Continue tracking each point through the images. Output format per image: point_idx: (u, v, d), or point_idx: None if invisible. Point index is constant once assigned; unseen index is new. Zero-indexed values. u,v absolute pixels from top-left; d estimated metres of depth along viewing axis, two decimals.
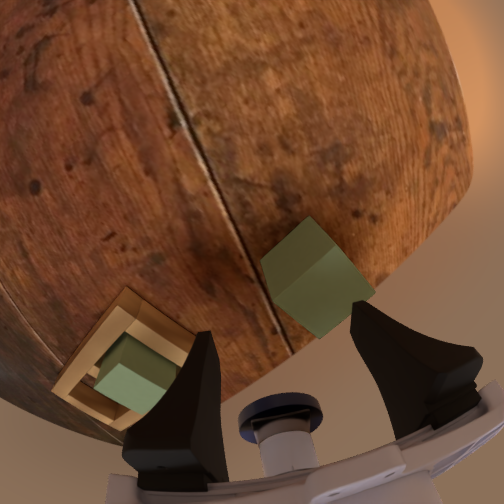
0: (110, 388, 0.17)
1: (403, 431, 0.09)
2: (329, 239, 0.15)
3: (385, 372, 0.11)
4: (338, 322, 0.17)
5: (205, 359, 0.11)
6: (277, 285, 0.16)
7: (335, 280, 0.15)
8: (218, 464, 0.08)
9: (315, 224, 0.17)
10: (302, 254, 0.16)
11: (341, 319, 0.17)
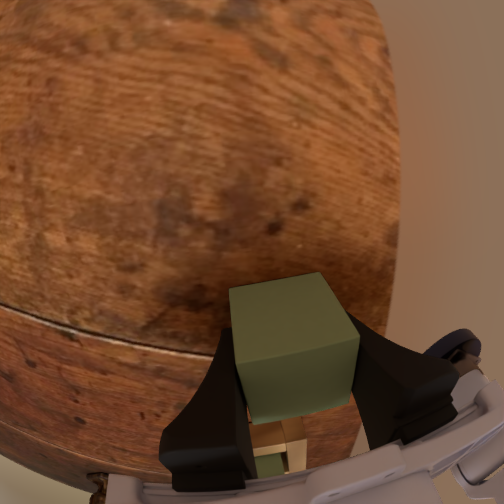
0: None
1: (376, 442, 0.09)
2: (234, 348, 0.10)
3: (358, 381, 0.10)
4: (349, 384, 0.11)
5: None
6: None
7: (286, 378, 0.10)
8: (251, 460, 0.08)
9: (230, 310, 0.12)
10: None
11: (349, 381, 0.11)
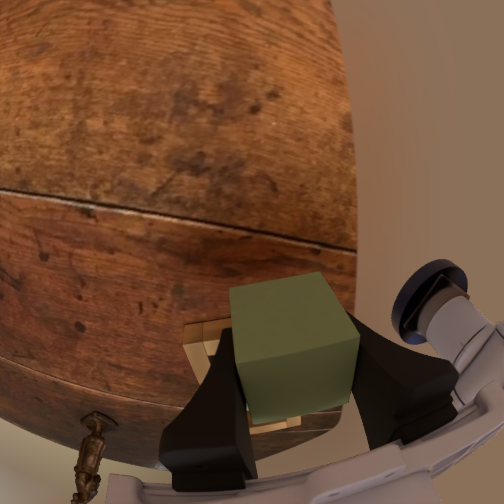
0: None
1: (376, 442, 0.09)
2: (234, 347, 0.10)
3: (358, 381, 0.10)
4: (349, 384, 0.11)
5: None
6: None
7: (286, 377, 0.10)
8: (251, 460, 0.08)
9: (230, 309, 0.12)
10: None
11: (349, 381, 0.11)
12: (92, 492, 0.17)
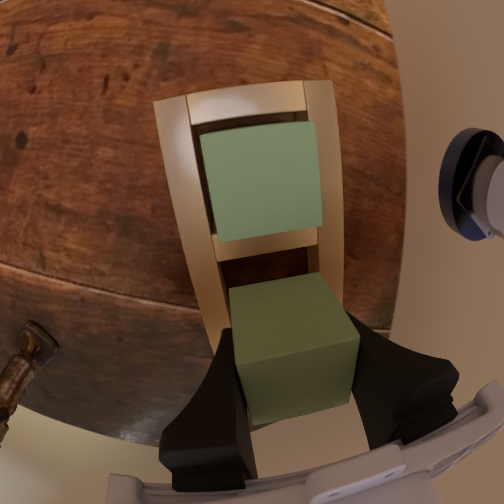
0: (237, 210, 0.12)
1: (376, 442, 0.09)
2: (234, 348, 0.10)
3: (358, 381, 0.10)
4: (349, 384, 0.11)
5: None
6: None
7: (286, 378, 0.10)
8: (251, 460, 0.08)
9: (230, 310, 0.12)
10: None
11: (349, 381, 0.11)
12: None
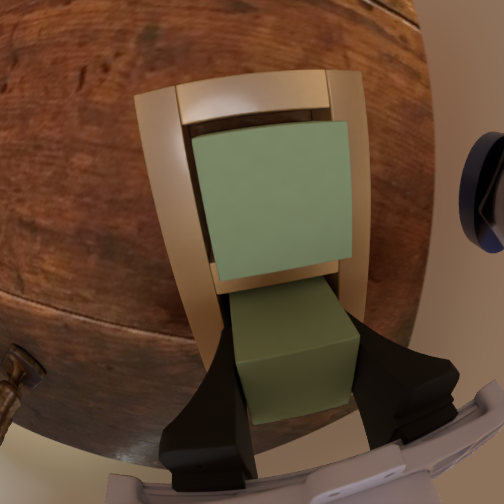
0: (244, 240, 0.09)
1: (376, 442, 0.09)
2: (234, 348, 0.10)
3: (359, 381, 0.10)
4: (349, 384, 0.11)
5: None
6: None
7: (286, 378, 0.10)
8: (251, 460, 0.08)
9: (230, 309, 0.12)
10: None
11: (349, 381, 0.11)
12: None
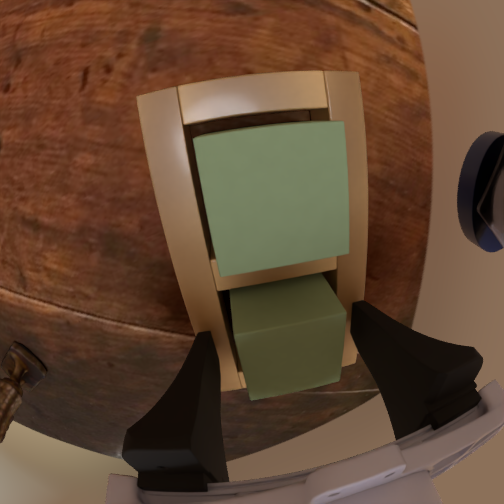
0: (244, 236, 0.09)
1: (403, 431, 0.09)
2: None
3: (385, 372, 0.11)
4: (339, 361, 0.12)
5: (205, 359, 0.11)
6: None
7: (280, 351, 0.11)
8: (218, 464, 0.08)
9: None
10: None
11: (338, 357, 0.12)
12: None
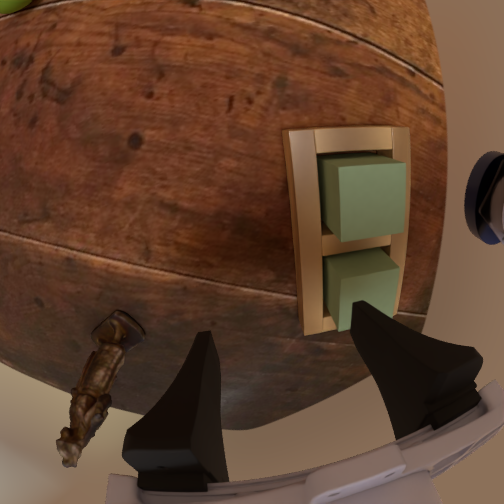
0: (356, 220, 0.16)
1: (403, 431, 0.09)
2: (336, 274, 0.19)
3: (385, 372, 0.11)
4: (393, 302, 0.19)
5: (205, 359, 0.11)
6: (335, 318, 0.20)
7: (363, 291, 0.18)
8: (218, 464, 0.08)
9: (326, 258, 0.21)
10: (332, 289, 0.20)
11: (393, 299, 0.19)
12: (94, 418, 0.13)
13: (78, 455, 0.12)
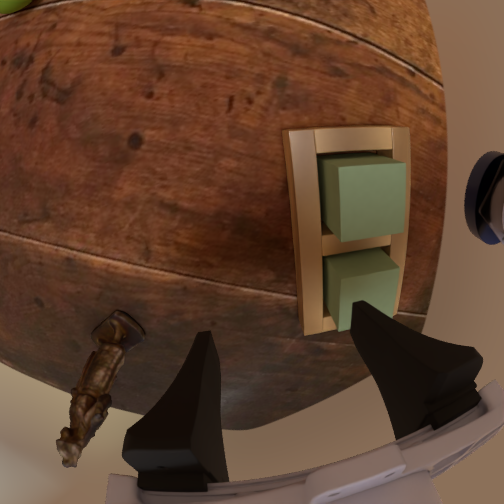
0: (356, 220, 0.16)
1: (403, 431, 0.09)
2: (336, 274, 0.19)
3: (385, 372, 0.11)
4: (393, 302, 0.19)
5: (205, 359, 0.11)
6: (335, 318, 0.20)
7: (363, 291, 0.18)
8: (218, 464, 0.08)
9: (326, 258, 0.21)
10: (332, 289, 0.20)
11: (393, 299, 0.19)
12: (94, 418, 0.13)
13: (78, 455, 0.12)
